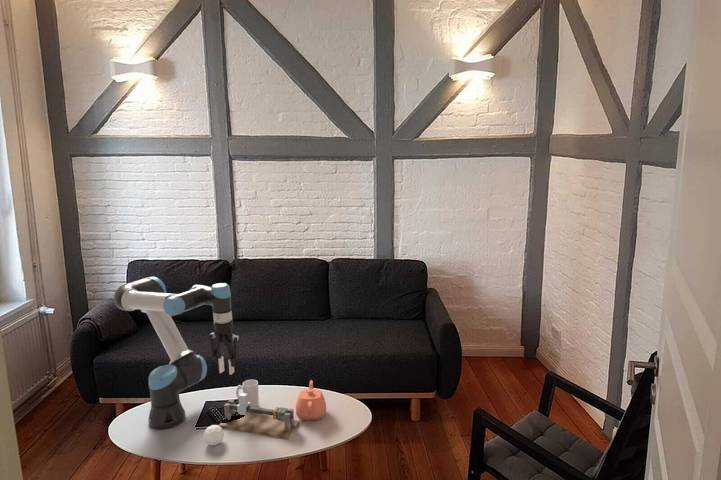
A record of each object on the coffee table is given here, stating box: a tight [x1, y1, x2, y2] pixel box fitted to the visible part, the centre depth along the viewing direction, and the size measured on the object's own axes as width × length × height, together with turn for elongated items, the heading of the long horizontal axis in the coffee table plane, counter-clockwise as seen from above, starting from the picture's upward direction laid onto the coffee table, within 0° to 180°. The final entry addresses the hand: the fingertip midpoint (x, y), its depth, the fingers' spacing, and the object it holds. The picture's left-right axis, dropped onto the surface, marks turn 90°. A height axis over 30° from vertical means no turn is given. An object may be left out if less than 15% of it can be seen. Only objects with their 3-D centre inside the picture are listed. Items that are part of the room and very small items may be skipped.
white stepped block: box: [236, 392, 250, 415], centre depth 225 cm, size 4×4×8 cm
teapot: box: [295, 379, 327, 422], centre depth 232 cm, size 13×20×12 cm, turn 4°
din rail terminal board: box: [218, 399, 301, 440], centre depth 224 cm, size 32×12×9 cm, turn 73°
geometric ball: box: [203, 424, 225, 446], centre depth 212 cm, size 8×8×8 cm
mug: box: [235, 379, 260, 408], centre depth 238 cm, size 10×7×12 cm, turn 88°
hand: (226, 372), depth 224 cm, fingers open, 4 cm apart
